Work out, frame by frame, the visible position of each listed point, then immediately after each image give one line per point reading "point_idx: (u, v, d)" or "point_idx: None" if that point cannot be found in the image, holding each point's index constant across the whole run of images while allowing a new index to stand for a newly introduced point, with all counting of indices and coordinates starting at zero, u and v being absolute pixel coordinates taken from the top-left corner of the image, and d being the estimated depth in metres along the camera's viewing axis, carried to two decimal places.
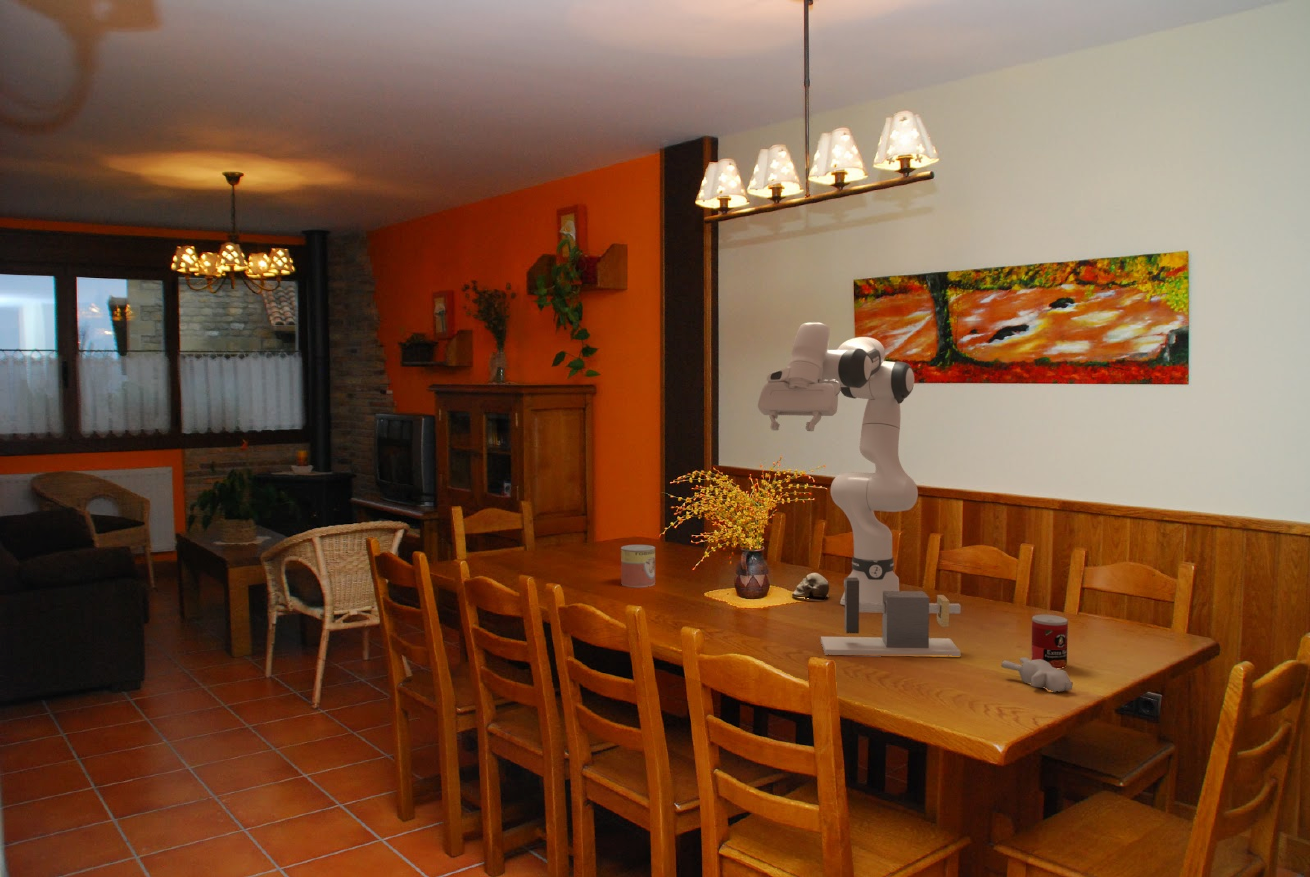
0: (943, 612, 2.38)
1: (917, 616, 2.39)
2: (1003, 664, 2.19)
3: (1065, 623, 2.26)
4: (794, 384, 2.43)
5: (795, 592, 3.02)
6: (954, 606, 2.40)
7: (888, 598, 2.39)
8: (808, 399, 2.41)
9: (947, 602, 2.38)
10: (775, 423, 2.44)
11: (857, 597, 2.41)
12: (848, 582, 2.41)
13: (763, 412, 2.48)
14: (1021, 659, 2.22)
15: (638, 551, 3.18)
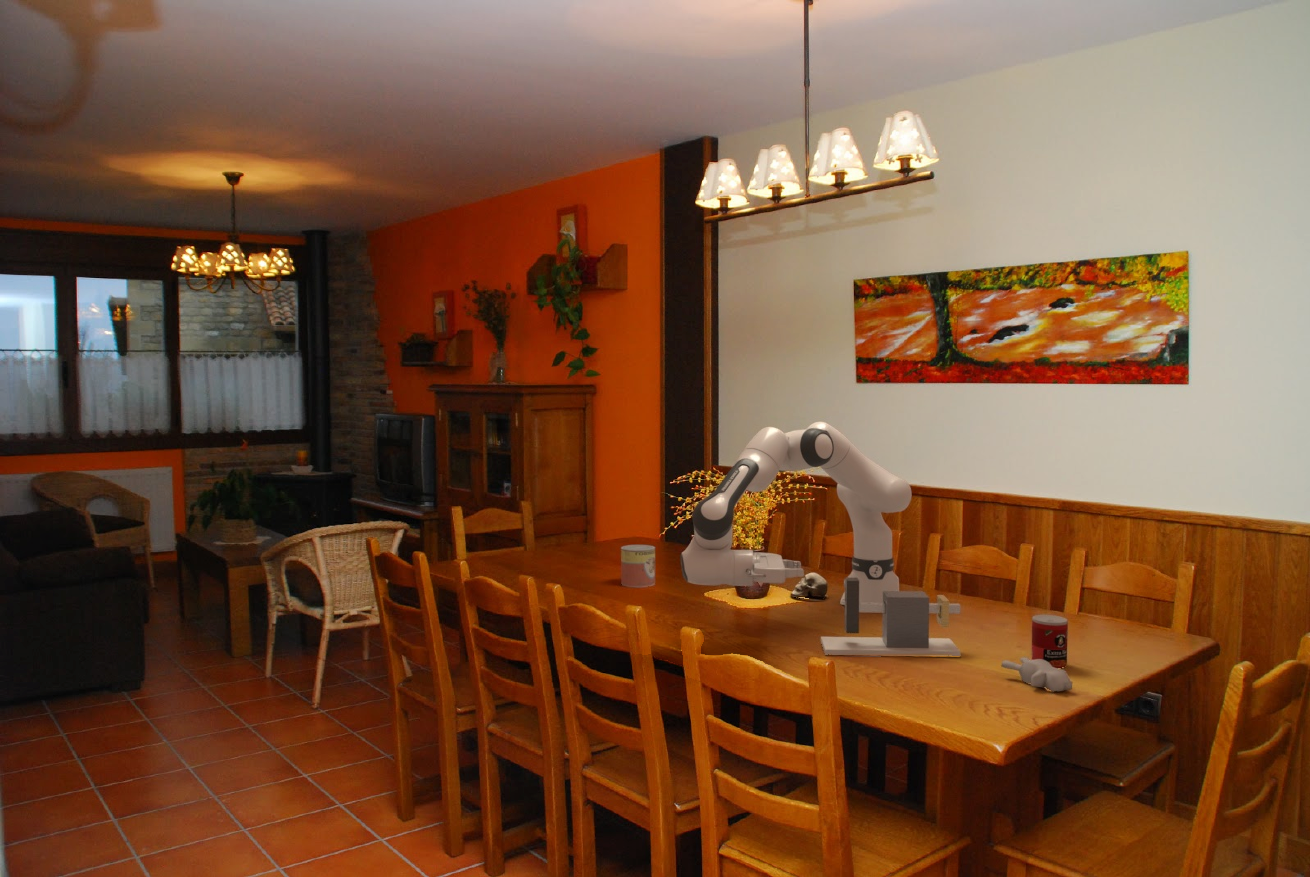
0: (943, 612, 2.38)
1: (917, 616, 2.39)
2: (1003, 664, 2.20)
3: (1065, 623, 2.26)
4: None
5: (794, 592, 3.02)
6: (954, 606, 2.40)
7: (888, 598, 2.39)
8: None
9: (947, 602, 2.38)
10: (795, 568, 2.48)
11: (857, 597, 2.41)
12: (848, 582, 2.41)
13: None
14: (1021, 659, 2.22)
15: (638, 551, 3.18)
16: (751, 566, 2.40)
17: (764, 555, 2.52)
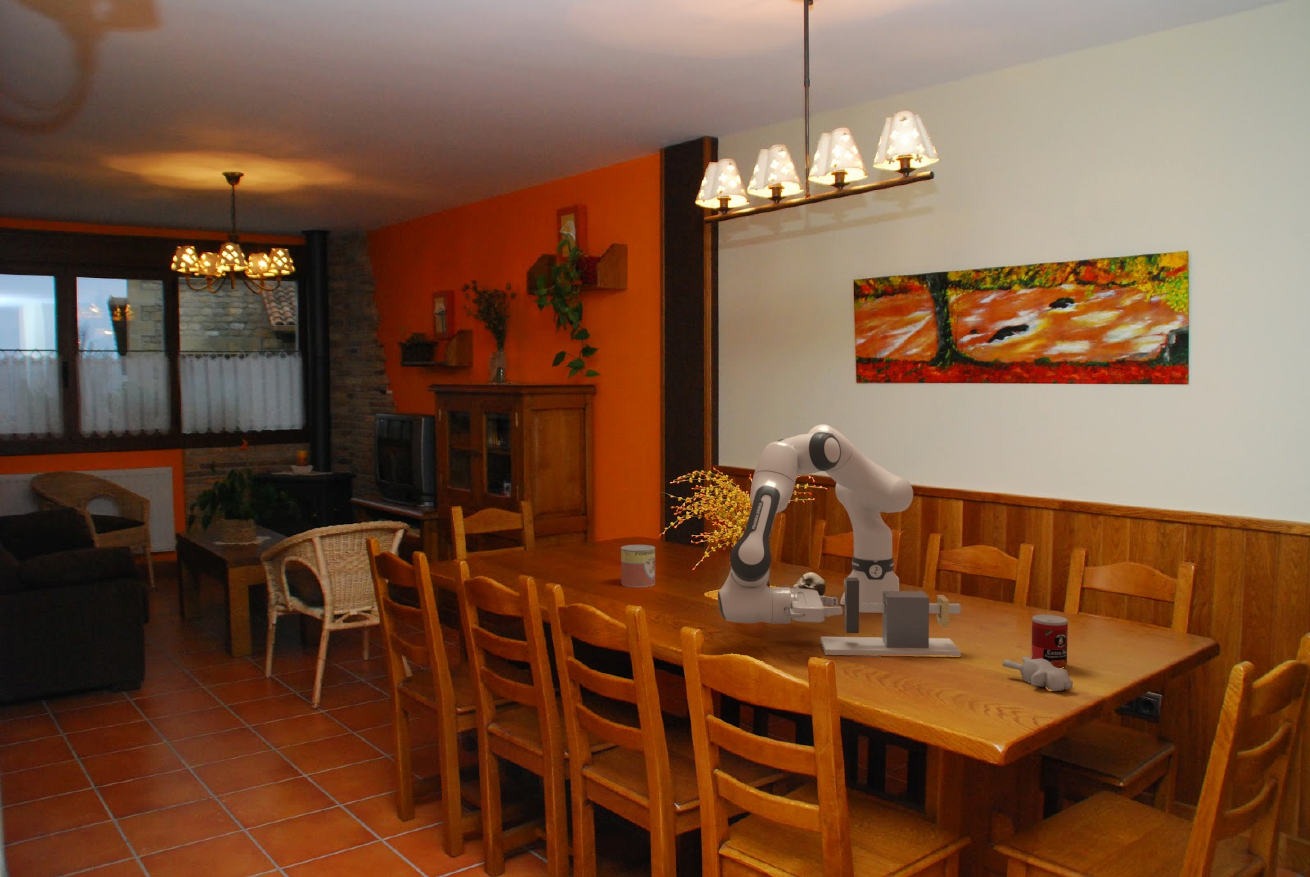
0: (943, 612, 2.38)
1: (917, 616, 2.39)
2: (1004, 663, 2.20)
3: (1065, 623, 2.26)
4: None
5: None
6: (954, 606, 2.40)
7: (888, 598, 2.39)
8: None
9: (947, 602, 2.38)
10: None
11: (857, 597, 2.41)
12: (848, 582, 2.41)
13: None
14: (1023, 658, 2.23)
15: (638, 551, 3.18)
16: (789, 604, 2.40)
17: (801, 591, 2.52)
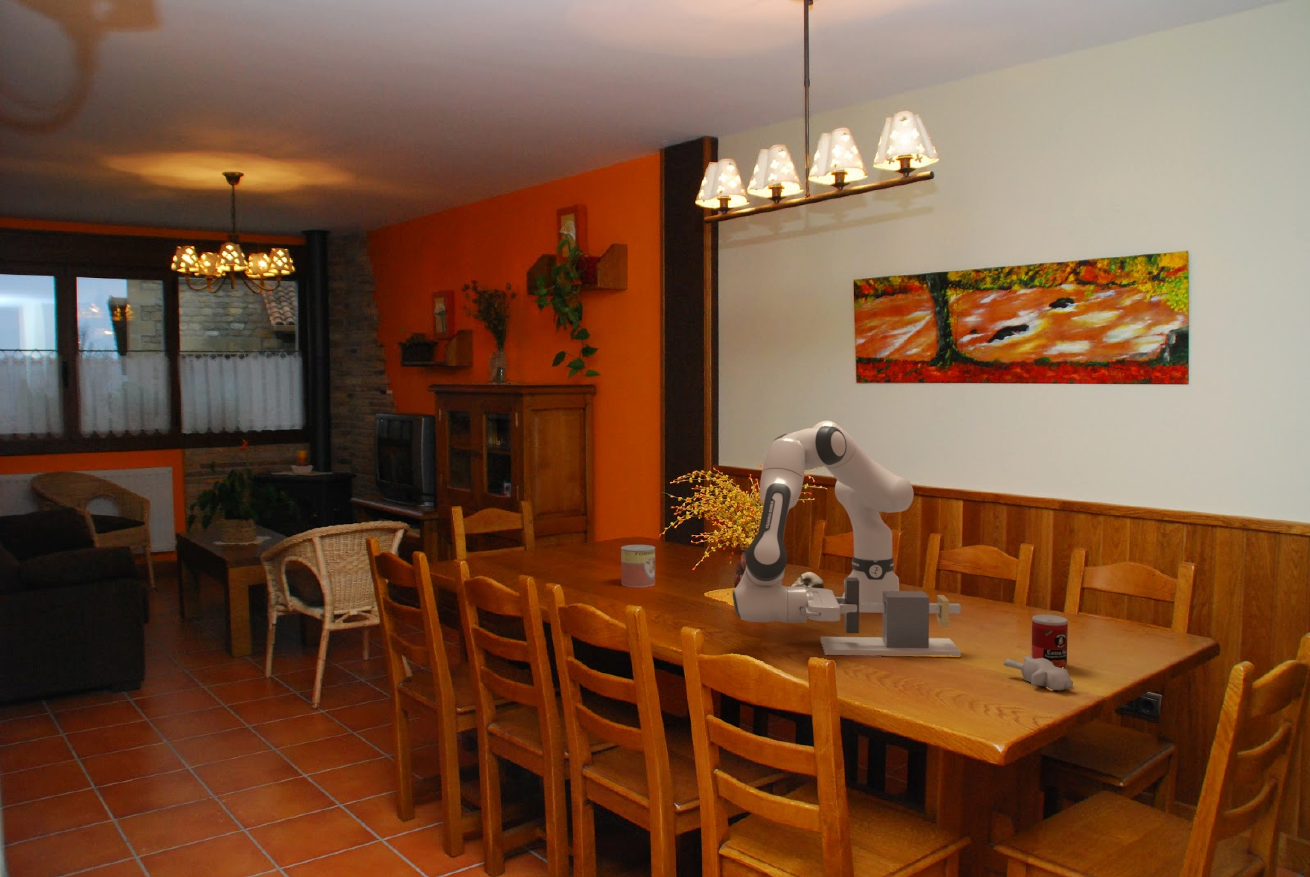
0: (943, 612, 2.38)
1: (917, 616, 2.39)
2: (1006, 662, 2.21)
3: (1065, 623, 2.26)
4: None
5: None
6: (954, 606, 2.40)
7: (888, 598, 2.39)
8: None
9: (947, 602, 2.38)
10: None
11: (857, 597, 2.41)
12: (848, 582, 2.41)
13: None
14: (1025, 658, 2.23)
15: (638, 551, 3.18)
16: (805, 603, 2.40)
17: (815, 590, 2.51)
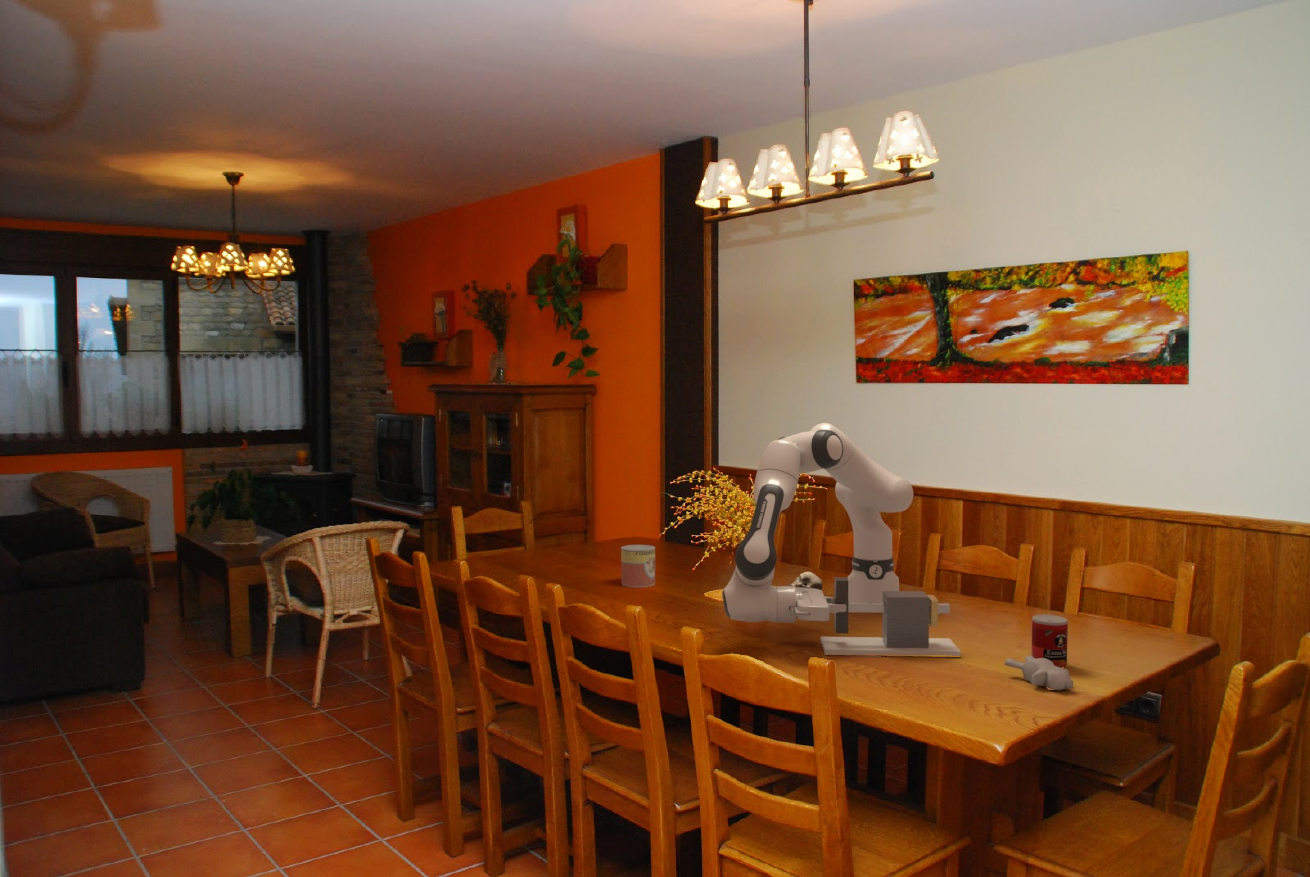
0: (932, 612, 2.39)
1: (917, 616, 2.39)
2: (1006, 662, 2.21)
3: (1065, 623, 2.26)
4: None
5: None
6: (943, 606, 2.40)
7: (888, 598, 2.39)
8: None
9: (936, 602, 2.38)
10: None
11: (846, 597, 2.41)
12: (837, 582, 2.41)
13: None
14: (1026, 658, 2.23)
15: (638, 551, 3.18)
16: (794, 603, 2.40)
17: (805, 590, 2.52)
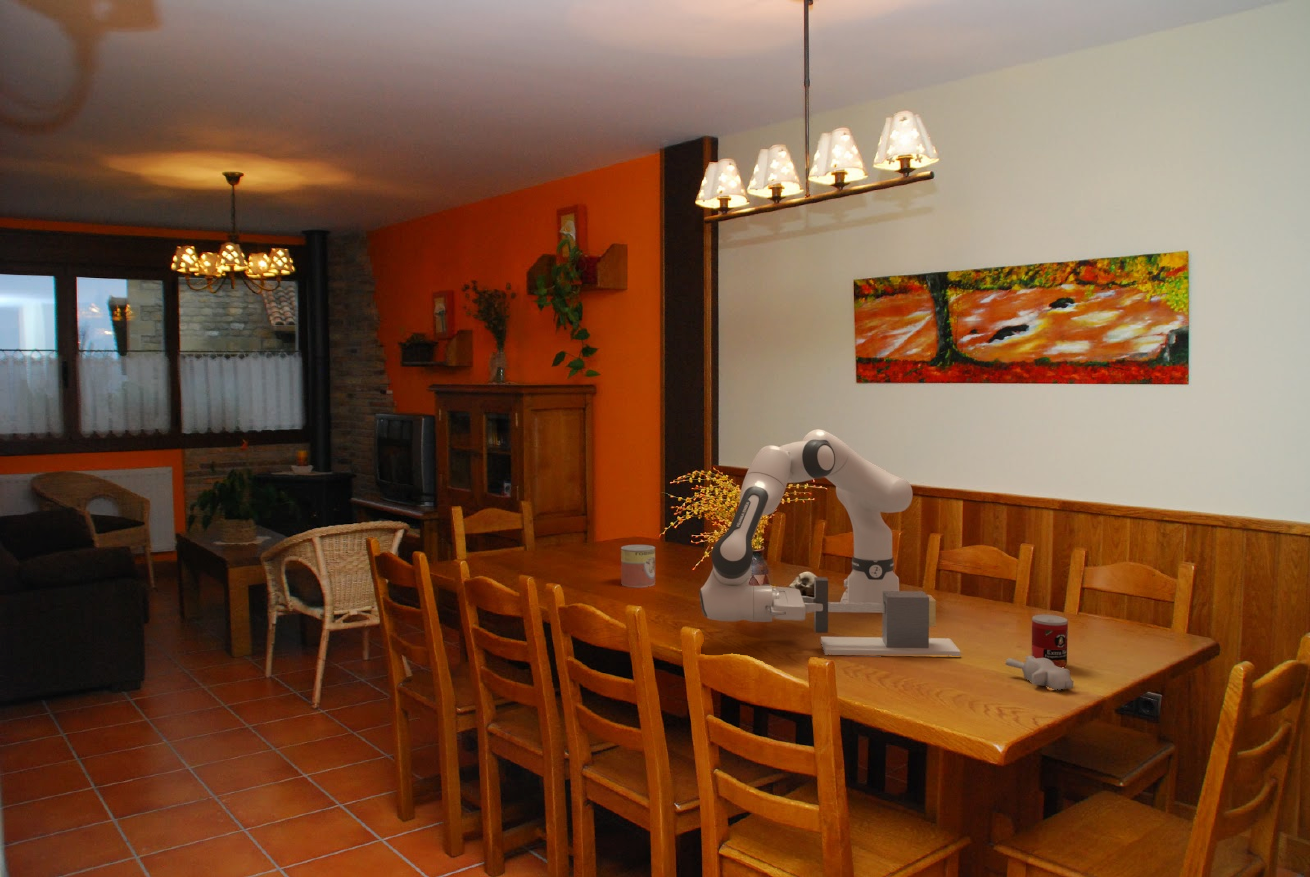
0: (930, 612, 2.39)
1: (917, 616, 2.39)
2: (1007, 662, 2.21)
3: (1065, 623, 2.26)
4: None
5: None
6: None
7: (888, 598, 2.39)
8: None
9: (934, 602, 2.38)
10: None
11: (826, 597, 2.42)
12: (817, 582, 2.42)
13: None
14: (1027, 657, 2.23)
15: (638, 551, 3.18)
16: (771, 602, 2.40)
17: (782, 590, 2.52)
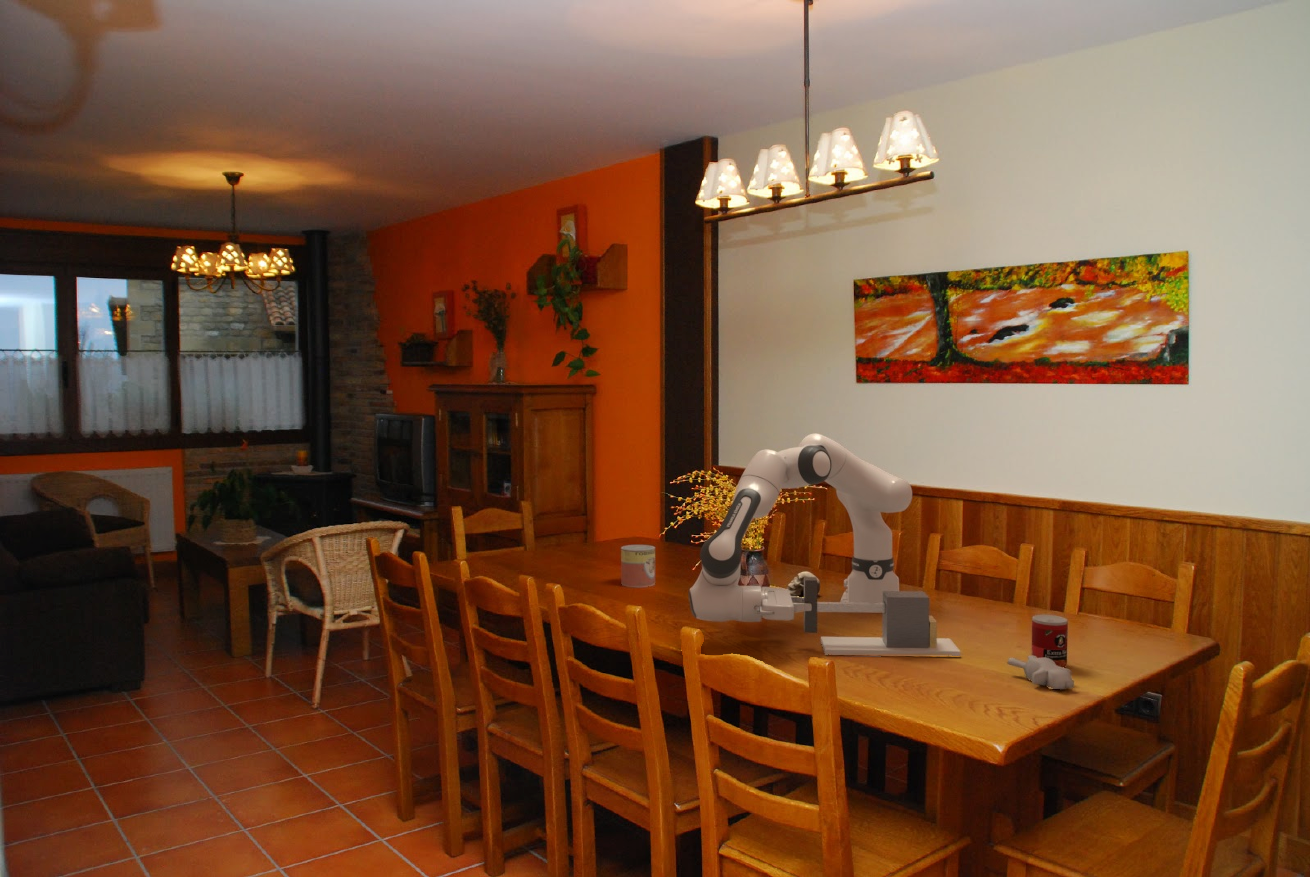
0: (931, 633, 2.39)
1: (917, 616, 2.39)
2: (1009, 661, 2.22)
3: (1065, 623, 2.26)
4: None
5: None
6: None
7: (888, 598, 2.39)
8: None
9: (935, 623, 2.39)
10: None
11: (815, 597, 2.42)
12: (806, 582, 2.42)
13: None
14: (1029, 657, 2.24)
15: (638, 551, 3.18)
16: (759, 602, 2.41)
17: (772, 590, 2.52)
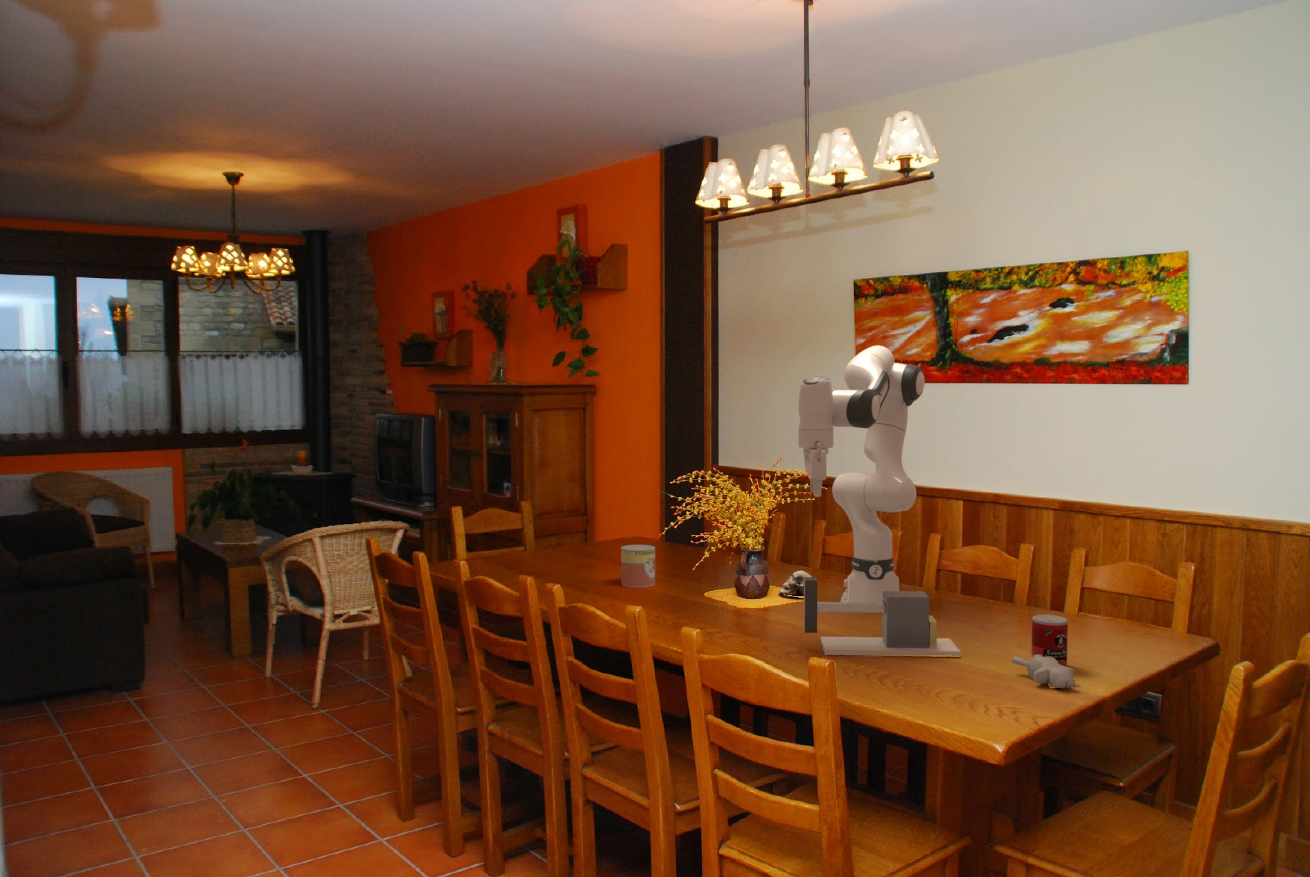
0: (931, 633, 2.39)
1: (917, 616, 2.39)
2: (1013, 659, 2.23)
3: (1065, 623, 2.26)
4: None
5: (782, 590, 3.05)
6: None
7: (888, 598, 2.39)
8: None
9: (935, 623, 2.39)
10: (810, 487, 2.58)
11: (815, 597, 2.42)
12: (806, 582, 2.42)
13: None
14: (1034, 656, 2.24)
15: (638, 551, 3.18)
16: (821, 446, 2.48)
17: None
